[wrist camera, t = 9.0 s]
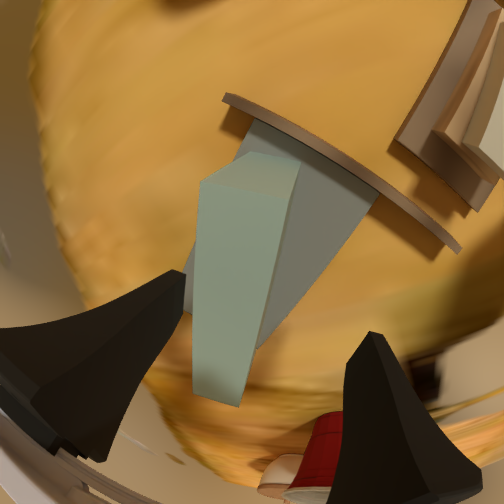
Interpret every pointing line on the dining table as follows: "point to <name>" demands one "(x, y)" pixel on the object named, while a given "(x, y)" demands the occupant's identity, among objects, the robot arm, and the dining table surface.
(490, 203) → the dining table surface
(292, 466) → the lidded jar
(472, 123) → the offcut top
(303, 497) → the plastic cup
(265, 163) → the pale green block
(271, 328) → the mat
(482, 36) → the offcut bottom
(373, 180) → the rack
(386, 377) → the robot arm
